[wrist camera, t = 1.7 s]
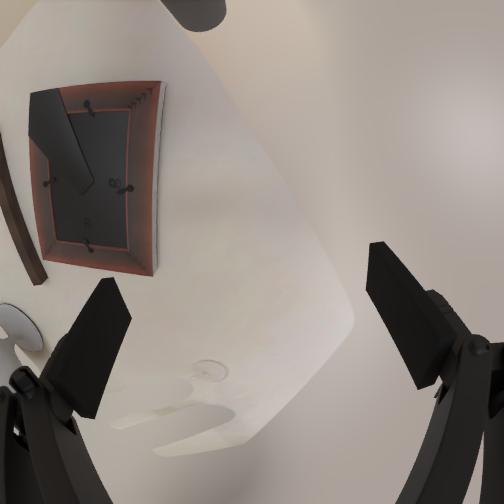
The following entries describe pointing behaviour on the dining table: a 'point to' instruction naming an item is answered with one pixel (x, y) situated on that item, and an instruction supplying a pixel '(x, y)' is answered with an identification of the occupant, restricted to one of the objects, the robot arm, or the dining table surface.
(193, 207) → the dining table surface
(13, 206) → the walnut rail
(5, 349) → the chalice
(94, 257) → the picture frame
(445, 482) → the robot arm
